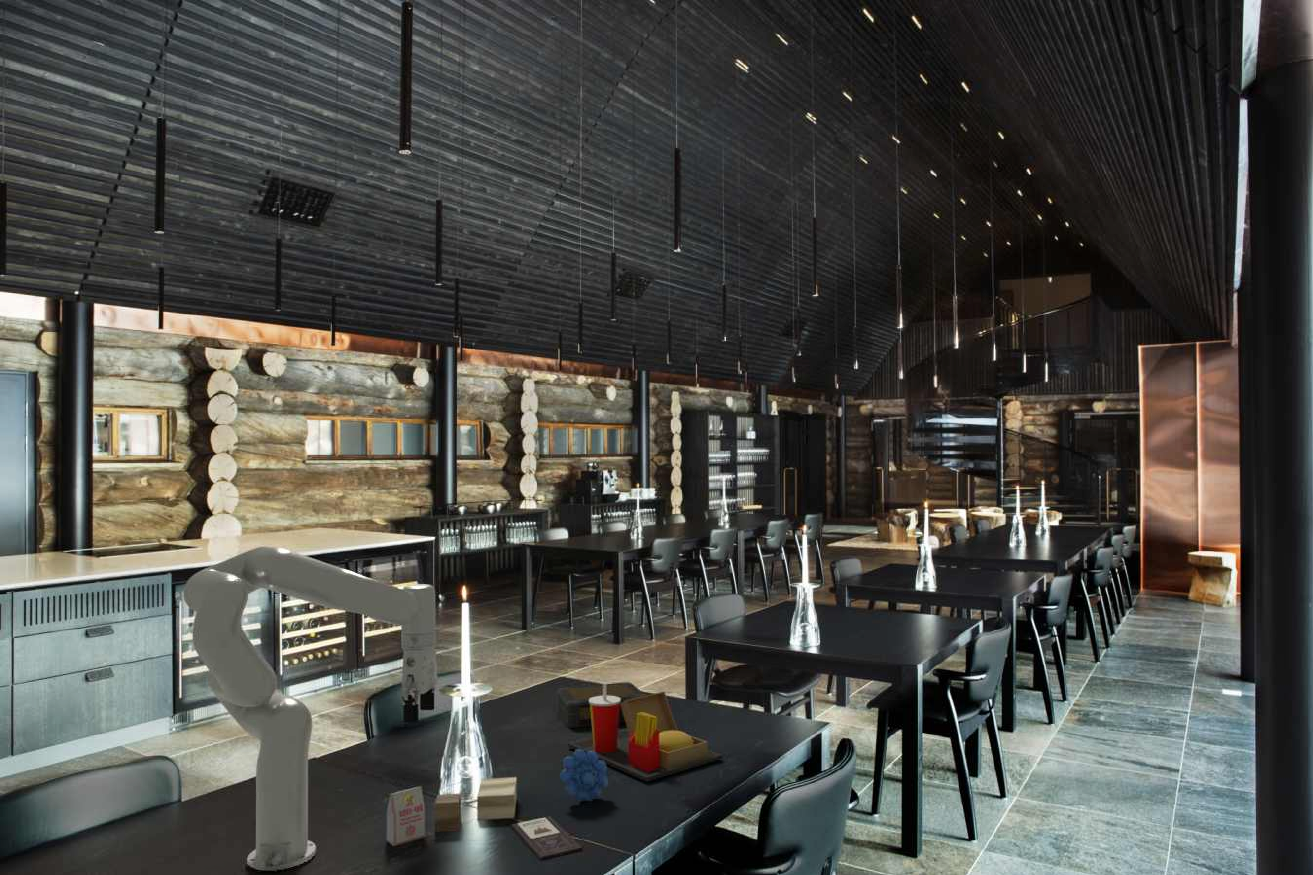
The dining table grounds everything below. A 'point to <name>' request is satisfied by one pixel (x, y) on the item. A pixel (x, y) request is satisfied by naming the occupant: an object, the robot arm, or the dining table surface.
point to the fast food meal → (642, 737)
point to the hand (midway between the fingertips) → (419, 715)
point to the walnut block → (447, 812)
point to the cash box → (577, 705)
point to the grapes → (584, 775)
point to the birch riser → (497, 798)
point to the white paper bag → (405, 816)
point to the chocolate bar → (546, 837)
